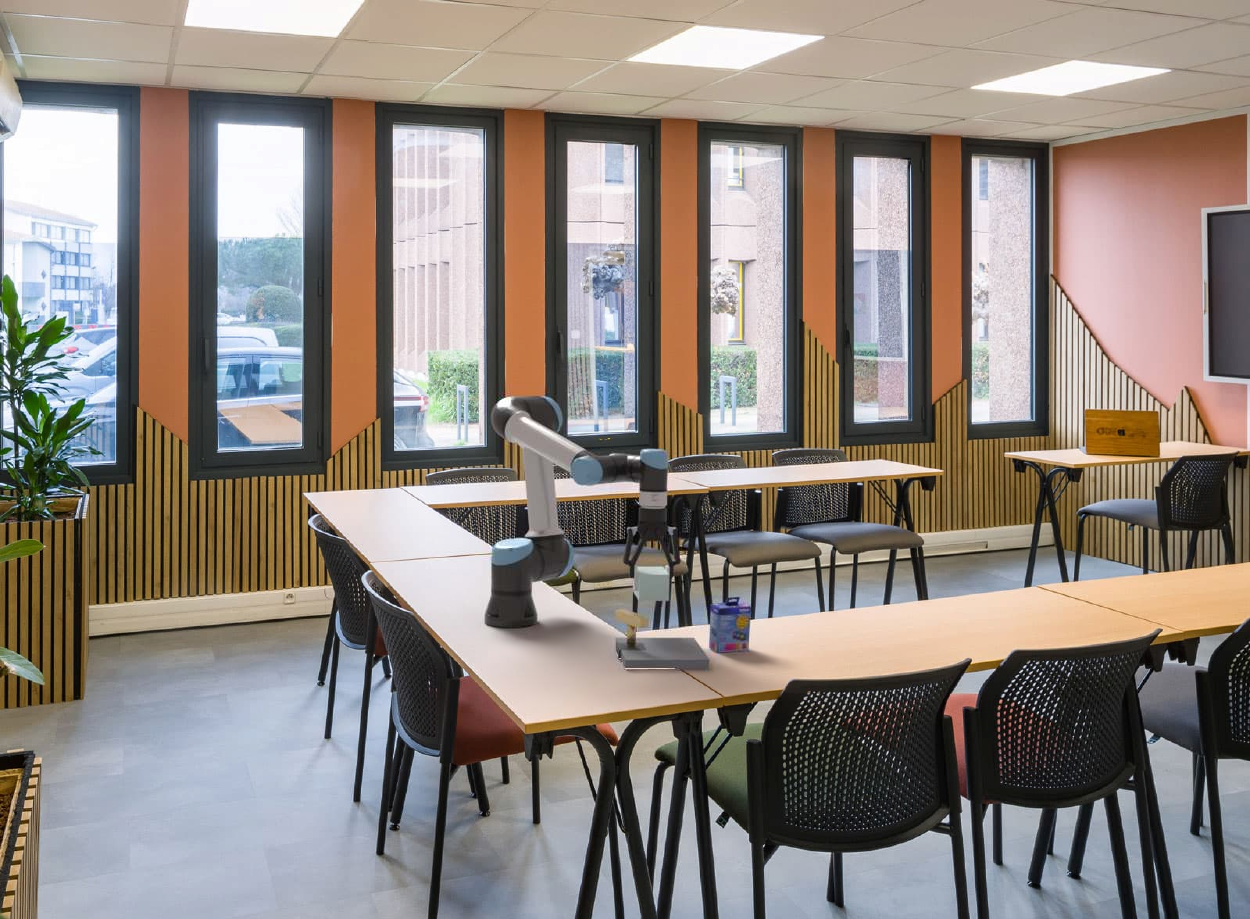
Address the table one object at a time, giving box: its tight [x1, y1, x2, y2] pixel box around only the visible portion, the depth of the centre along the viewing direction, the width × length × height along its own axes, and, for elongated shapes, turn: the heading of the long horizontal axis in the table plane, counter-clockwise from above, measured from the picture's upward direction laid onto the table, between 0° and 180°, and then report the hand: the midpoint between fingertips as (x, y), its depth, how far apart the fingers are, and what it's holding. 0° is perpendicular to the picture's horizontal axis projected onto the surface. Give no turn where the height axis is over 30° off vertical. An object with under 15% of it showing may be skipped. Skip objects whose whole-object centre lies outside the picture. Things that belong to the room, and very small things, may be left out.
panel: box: [615, 637, 710, 671], centre depth 299 cm, size 22×22×3 cm
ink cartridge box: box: [708, 596, 752, 654], centre depth 309 cm, size 10×6×14 cm, turn 113°
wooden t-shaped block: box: [614, 608, 650, 646], centre depth 299 cm, size 3×11×8 cm, turn 35°
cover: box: [633, 566, 670, 602], centre depth 315 cm, size 12×8×7 cm, turn 7°
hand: (650, 590), depth 315 cm, fingers closed on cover, 8 cm apart
